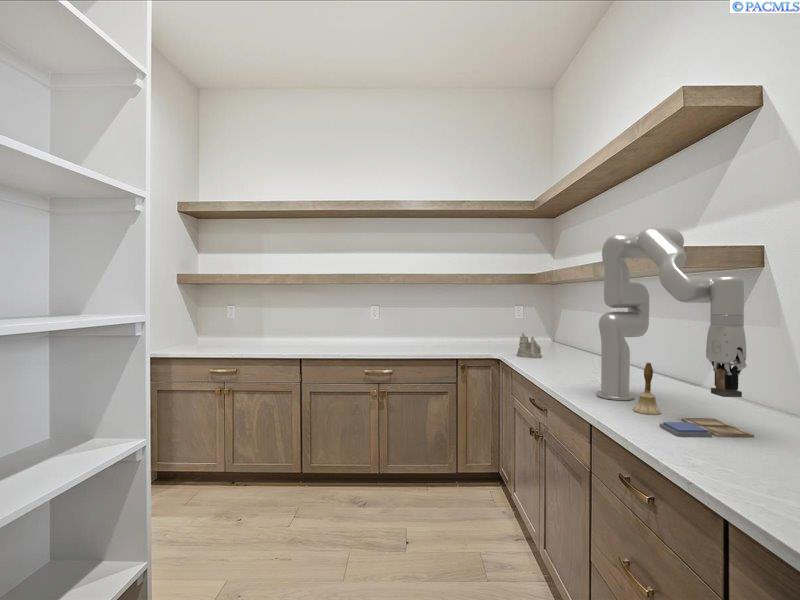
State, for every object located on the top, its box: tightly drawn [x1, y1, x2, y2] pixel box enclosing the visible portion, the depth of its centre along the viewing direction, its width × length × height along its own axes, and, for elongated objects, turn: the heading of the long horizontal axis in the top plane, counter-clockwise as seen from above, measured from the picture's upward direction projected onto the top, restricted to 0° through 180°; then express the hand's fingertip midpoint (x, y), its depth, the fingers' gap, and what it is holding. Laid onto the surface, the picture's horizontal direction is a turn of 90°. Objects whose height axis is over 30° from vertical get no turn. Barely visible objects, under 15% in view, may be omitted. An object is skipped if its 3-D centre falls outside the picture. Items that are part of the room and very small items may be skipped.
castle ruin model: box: [516, 332, 543, 359], centre depth 282 cm, size 16×16×15 cm
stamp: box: [710, 368, 743, 398], centre depth 127 cm, size 5×5×7 cm
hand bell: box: [632, 362, 663, 416], centre depth 149 cm, size 8×8×16 cm
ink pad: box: [659, 421, 713, 438], centre depth 127 cm, size 9×9×2 cm
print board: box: [680, 417, 755, 438], centre depth 131 cm, size 16×10×1 cm, turn 179°
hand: (726, 387), depth 127 cm, fingers closed on stamp, 3 cm apart
